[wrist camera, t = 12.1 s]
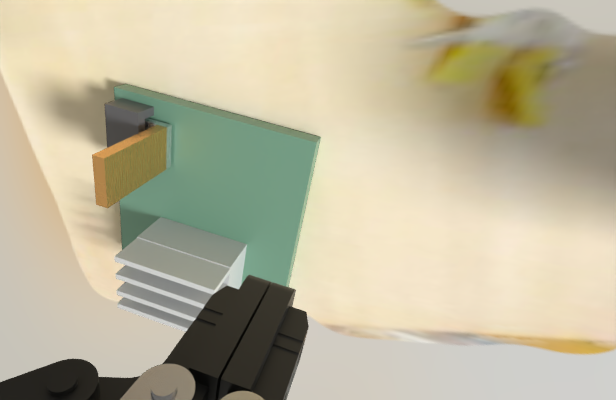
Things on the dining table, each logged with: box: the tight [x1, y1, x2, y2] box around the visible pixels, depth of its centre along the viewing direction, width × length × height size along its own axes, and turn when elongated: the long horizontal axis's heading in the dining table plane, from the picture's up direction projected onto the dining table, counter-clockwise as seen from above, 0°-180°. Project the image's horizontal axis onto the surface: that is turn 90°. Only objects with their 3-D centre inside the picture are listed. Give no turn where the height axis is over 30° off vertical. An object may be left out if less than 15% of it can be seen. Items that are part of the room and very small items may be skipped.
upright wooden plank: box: [92, 118, 172, 208], centre depth 42 cm, size 6×5×11 cm
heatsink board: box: [105, 84, 321, 332], centre depth 46 cm, size 24×24×11 cm
